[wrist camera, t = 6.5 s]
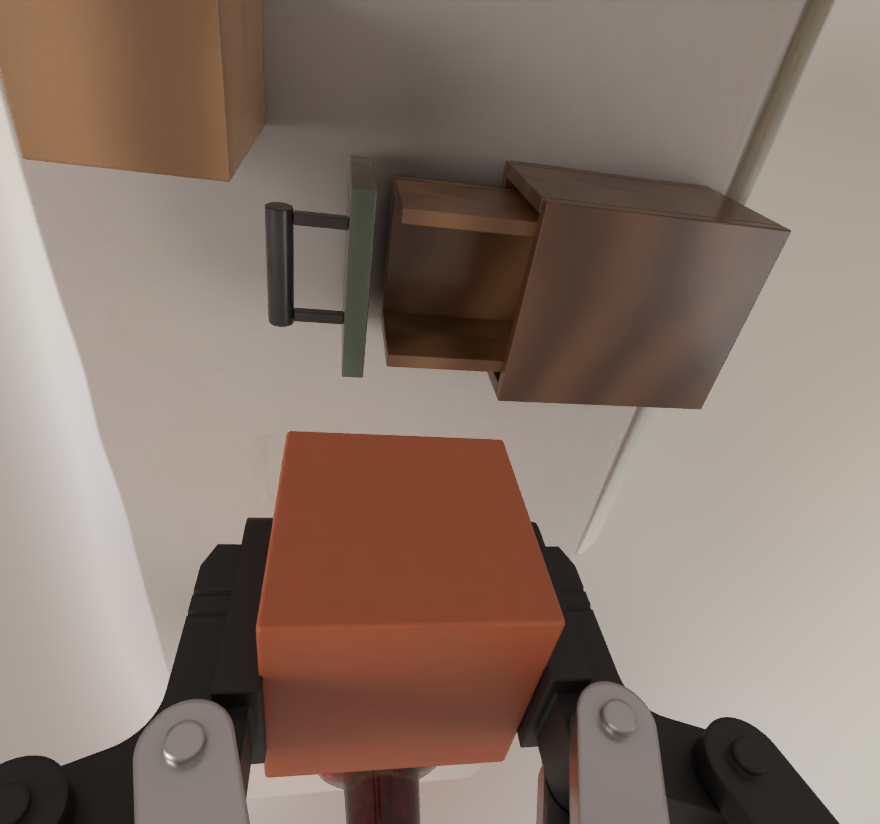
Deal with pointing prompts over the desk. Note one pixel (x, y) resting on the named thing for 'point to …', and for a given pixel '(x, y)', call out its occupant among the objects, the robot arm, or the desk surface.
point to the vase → (380, 794)
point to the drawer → (417, 270)
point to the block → (399, 605)
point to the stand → (135, 83)
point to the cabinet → (630, 289)
